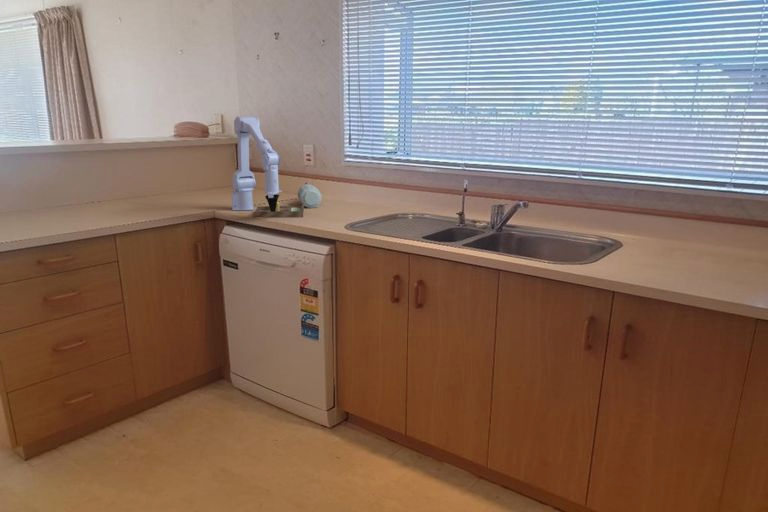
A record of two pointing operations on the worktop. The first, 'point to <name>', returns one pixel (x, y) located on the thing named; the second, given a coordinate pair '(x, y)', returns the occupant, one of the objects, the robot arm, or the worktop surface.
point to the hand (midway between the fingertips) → (273, 211)
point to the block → (277, 207)
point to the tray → (284, 211)
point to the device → (309, 195)
